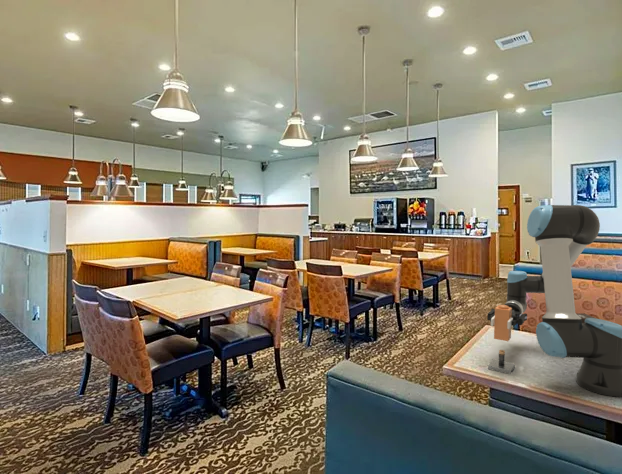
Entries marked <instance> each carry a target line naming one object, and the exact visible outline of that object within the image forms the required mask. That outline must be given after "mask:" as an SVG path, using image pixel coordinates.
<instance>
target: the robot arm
mask: <svg viewBox="0 0 622 474" xmlns="http://www.w3.org/2000/svg"><path fill="white" fill-rule="evenodd" d="M600 228H601V224H600V220H599V217H598V216H597V213H596V212H595V211H594V210H592V209H591V208H589V207H587V206H584V205H581V204H580V205H579V204H573V205H572V204H571V205H567V204H563V205H562V204H546V205H538V206H535V207H534V208H533V209H532V210H531V212H530V214H529V216H528V218H527V224H526V229H527V233H528V236H530V237H532V238H534V241H535V243H536V244H537V245H538V246H539V247H540V253H541V265H542V267H541V268H542V273H541V274H540V275H528V273H527V272H526V271H522V270H510V271H509V272H508V273H507V279H506V282H507V283H506V288H507V289H506V301H505V303H504V304H503V305H507V306H509V307H511V308H512V318H510V319H509V320H508V322H507V329H510V328H511V329H512V326H517V324H518V326H523V324H524V323H525V321H527V320H528V314H527V313H525V311H526V310H527V306H528V303H527V294H544V298H545V299H544V300H545V311H546V312H545V314H544V315H543V316H542V317H541V320H542V321H541V322H539V323H538V324H537V325H536V328H535V336H536V340H537V343H538V346H539V347H540V349H541V350H542V351H543V353H545V354H546V355H547V356H549V357H552V358H553V357H554V358H561V359H565V358H580V359H581V358H582V363H581V365H580V367H579V369H578V372H577V373H576V377H575V379H576V380H575V381H576V383H577V384H578V386H580V387H581V388H583V389H585V390H587V391H590V392H592V393H596V394H599V395H602V396H607V397H608V396H609V397H615V396H616V398H617V397H618V398H621V397H622V325H621V324H618V323H616V322H613V321H609V320H606V319H605V320H604V319H601V318H597V317H594V318H586V319H585V321H584V322H585V323H582V320H581V318H580V317H579V316H578V315H577V314H576V307H575V306H576V305H575V297H574V295H575V294H574V285H573V277H572V276H573V275H572V266H573V265H574V264H575V262H576V261H577V260H578V258H579V257H580V256H581V254H582V252H583V251H585V248H586V247H587V246H589V245H592V244H593V243H594V241H595V240H596V239H597V237H598V235H599V233H600ZM486 317H487V321H489V322H490V326H491V327H494V324H495V308H491V309H490V311H489V312H488V313H487V316H486Z"/></svg>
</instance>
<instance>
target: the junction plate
mask: <svg viewBox="0 0 622 474" xmlns="http://www.w3.org/2000/svg"><path fill="white" fill-rule="evenodd" d="M505 359H506V350H504V349H498V359H495V358H492V359H491V360H490V362H489V363H488V365H487V369H488V370H490V369H493V370H492V371H495V370H496V371H495V372H499V371H500V372H499V373H503V374H504V373H505V374H509V375H511V374H512V373H513V371H514V370H515V368H516V364H515V362H511V361H505Z"/></svg>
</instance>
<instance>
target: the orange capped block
mask: <svg viewBox="0 0 622 474" xmlns="http://www.w3.org/2000/svg"><path fill="white" fill-rule="evenodd" d="M494 309H495V324H494V326H493V327H494V329H493V331H494V332H493V339H495V340H499V341H504V342H510V339H511V338H512V327H511V328H510V329H507V322H508V320H509V319H510V318H512V308H511V307H509V306H507V305H504V304H498V305H497V306H495V308H494Z"/></svg>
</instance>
